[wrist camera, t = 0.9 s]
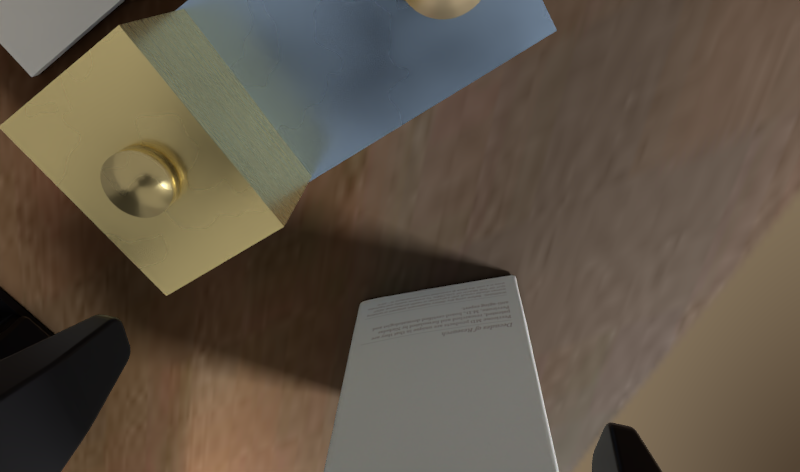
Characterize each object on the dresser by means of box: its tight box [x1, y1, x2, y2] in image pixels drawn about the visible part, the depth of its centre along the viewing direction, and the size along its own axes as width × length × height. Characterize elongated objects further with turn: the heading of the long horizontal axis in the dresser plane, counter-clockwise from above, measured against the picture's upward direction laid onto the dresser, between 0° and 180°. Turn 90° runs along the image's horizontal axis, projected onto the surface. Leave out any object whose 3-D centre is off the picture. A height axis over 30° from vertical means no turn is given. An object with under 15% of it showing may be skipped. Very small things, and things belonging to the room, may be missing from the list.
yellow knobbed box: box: [0, 9, 311, 296], centre depth 15 cm, size 4×6×4 cm
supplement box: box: [324, 275, 559, 472], centre depth 20 cm, size 7×7×13 cm
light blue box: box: [175, 0, 557, 182], centre depth 17 cm, size 16×6×6 cm, turn 123°
